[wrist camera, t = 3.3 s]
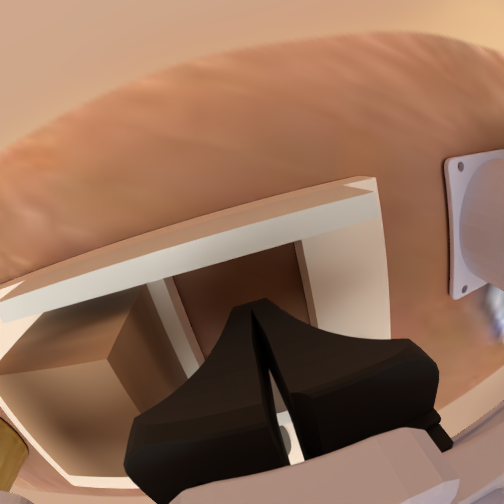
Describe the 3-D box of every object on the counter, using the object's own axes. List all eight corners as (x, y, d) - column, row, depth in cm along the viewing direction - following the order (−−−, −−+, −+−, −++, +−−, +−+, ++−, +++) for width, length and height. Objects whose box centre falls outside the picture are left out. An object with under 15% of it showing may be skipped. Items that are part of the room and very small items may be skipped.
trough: (342, 185, 11) (375, 191, 8) (363, 355, 13) (387, 386, 11) (25, 280, 10) (-7, 304, 8) (103, 418, 13) (92, 453, 10)
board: (358, 175, 12) (375, 177, 11) (377, 416, 17) (386, 430, 16) (-41, 301, 11) (-55, 311, 10) (77, 471, 16) (73, 485, 14)
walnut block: (145, 281, 11) (106, 359, 6) (189, 381, 12) (185, 473, 8) (46, 309, 11) (-14, 376, 6) (96, 397, 12) (69, 475, 7)
